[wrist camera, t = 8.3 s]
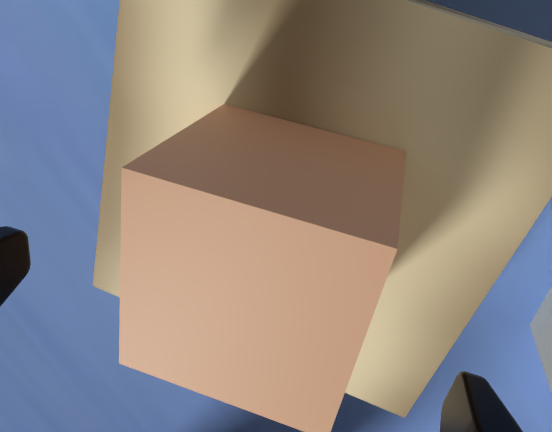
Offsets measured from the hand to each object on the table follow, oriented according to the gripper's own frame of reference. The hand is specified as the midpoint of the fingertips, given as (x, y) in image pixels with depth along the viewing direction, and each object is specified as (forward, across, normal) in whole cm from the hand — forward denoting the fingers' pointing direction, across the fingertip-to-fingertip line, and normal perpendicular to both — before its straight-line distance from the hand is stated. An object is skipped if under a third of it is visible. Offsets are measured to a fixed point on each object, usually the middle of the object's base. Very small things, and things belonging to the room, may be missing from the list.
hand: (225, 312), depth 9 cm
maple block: (+10, 0, 0) cm, 10 cm away
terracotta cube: (+5, 0, 0) cm, 5 cm away
